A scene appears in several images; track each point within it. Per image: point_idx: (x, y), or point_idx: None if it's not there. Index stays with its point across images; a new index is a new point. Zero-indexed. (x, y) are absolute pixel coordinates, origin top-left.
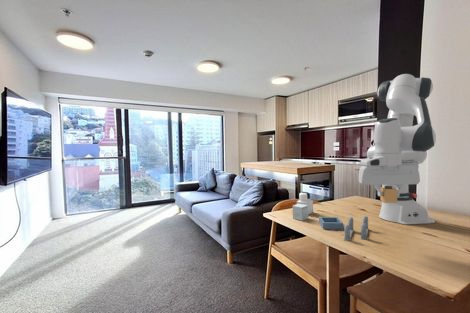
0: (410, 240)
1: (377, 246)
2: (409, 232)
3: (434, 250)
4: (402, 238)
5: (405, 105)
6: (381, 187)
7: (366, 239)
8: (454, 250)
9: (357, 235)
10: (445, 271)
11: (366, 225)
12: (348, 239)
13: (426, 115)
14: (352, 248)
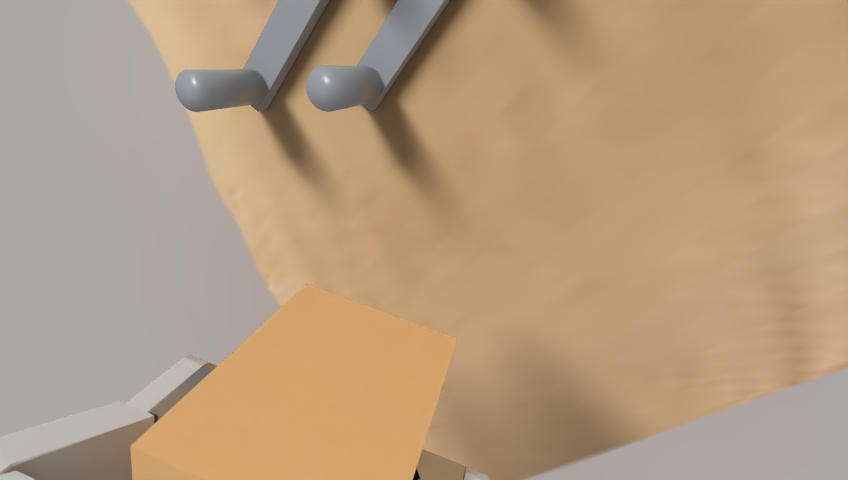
0: (656, 182)
1: (378, 209)
2: (843, 30)
3: (645, 324)
4: (635, 139)
5: None
6: (146, 474)
7: (374, 109)
8: (763, 355)
9: (357, 23)
10: (482, 445)
11: (345, 103)
12: (256, 104)
13: None
14: (244, 199)
